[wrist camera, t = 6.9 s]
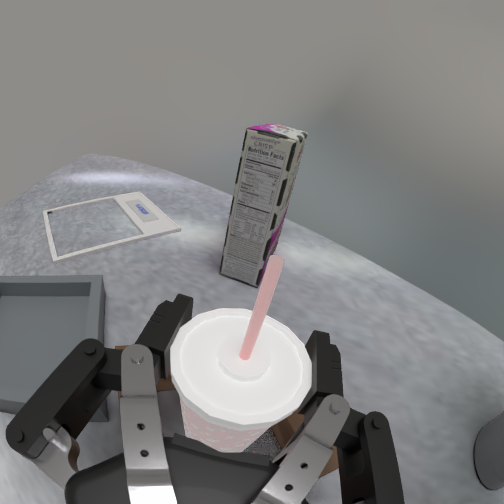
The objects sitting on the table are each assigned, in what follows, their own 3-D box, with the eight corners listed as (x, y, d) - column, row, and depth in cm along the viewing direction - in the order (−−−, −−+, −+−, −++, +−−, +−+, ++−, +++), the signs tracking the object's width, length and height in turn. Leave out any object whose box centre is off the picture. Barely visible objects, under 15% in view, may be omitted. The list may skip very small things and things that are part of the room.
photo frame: (181, 226, 36) (52, 260, 24) (180, 233, 37) (54, 268, 25) (140, 190, 44) (42, 210, 32) (139, 196, 44) (43, 216, 32)
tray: (105, 295, 23) (102, 274, 22) (108, 421, 13) (99, 407, 12) (-1, 294, 18) (-8, 275, 17) (-29, 404, 8) (-45, 387, 7)
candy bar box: (244, 234, 40) (271, 122, 31) (277, 245, 39) (310, 133, 30) (215, 274, 30) (244, 124, 22) (257, 290, 29) (301, 138, 21)
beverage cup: (242, 482, 12) (367, 376, 5) (155, 440, 13) (123, 267, 6) (274, 412, 17) (370, 253, 10) (199, 378, 18) (229, 199, 11)
